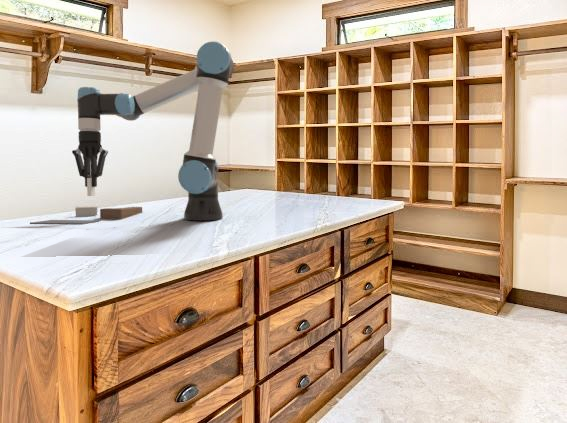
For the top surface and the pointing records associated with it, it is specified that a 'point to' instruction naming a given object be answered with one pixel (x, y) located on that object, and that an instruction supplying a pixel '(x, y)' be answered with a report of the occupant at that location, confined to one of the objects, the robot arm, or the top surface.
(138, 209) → the wooden block
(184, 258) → the top surface
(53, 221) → the charcoal mat
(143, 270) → the top surface
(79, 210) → the smooth beige box
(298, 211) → the top surface
